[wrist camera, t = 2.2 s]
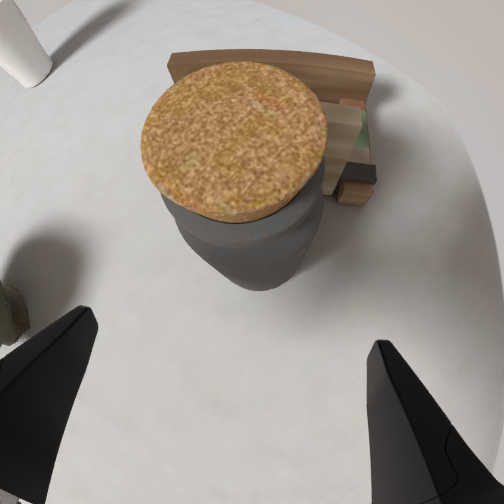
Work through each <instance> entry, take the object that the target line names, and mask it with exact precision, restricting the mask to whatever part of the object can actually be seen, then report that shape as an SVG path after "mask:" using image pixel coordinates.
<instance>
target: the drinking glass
mask: <svg viewBox="0 0 504 504" xmlns="http://www.w3.org/2000/svg"><path fill="white" fill-rule="evenodd" d="M0 66H1V67H2V68H3V69H5V70H6V71H7V72H8V73H10V74H11V75H12V76H13V77H14V78H16V79H17V80H18V81H19V82H20V83H21V84H22V85H23V86H24V87H25V88H32V87H35V86H36V85H38V84H39V83H40V82H42V81H43V80H44V79H45V78H46V76H47V75H48V74H49V72H50V71H51V69H52V66H53V62H52V60H51V58H50V57H49V56H48V55H47V53H46V52H45V50H44V49H43V47H42V45H41V44H40V42H39V41H38V39H37V37H36V36H35V34H34V32H33V31H32V29H31V27H30V25H29V24H28V22H27V20H26V19H25V17H24V15H23V13H22V12H21V10H20V9H19V8H18V6H17V5H16V3H15V2H14V1H13V0H0Z"/></svg>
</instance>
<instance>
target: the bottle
mask: <svg viewBox="0 0 504 504" xmlns="http://www.w3.org/2000/svg"><path fill="white" fill-rule="evenodd" d="M327 142H328V125H327V119H326V115H325V112H324V110H323V107H322V105H321V103H320V101H319V100H318V98H317V97H316V95H315V94H314V93H313V91H312V90H311V89H310V88H309V87H308V86H307V85H306V84H305V83H303V82H302V81H301V80H299V79H298V78H297V77H295V76H294V75H292V74H290V73H288V72H286V71H284V70H282V69H280V68H277V67H274V66H271V65H267V64H263V63H256V62H246V61H241V62H226V63H221V64H216V65H212V66H209V67H205V68H203V69H200V70H198V71H195V72H193V73H191V74H189V75H187V76H186V77H184V78H182V79H181V80H179V81H178V82H176V83H175V84H174V85H172V86H171V87H170V88H169V89H168V90H166V92H165V93H164V94H163V95H162V96H161V97H160V98H159V99H158V100H157V102H156V103H155V104H154V106H153V107H152V109H151V111H150V113H149V115H148V117H147V119H146V121H145V124H144V127H143V130H142V136H141V156H142V162H143V165H144V168H145V170H146V173H147V175H148V177H149V178H150V180H151V182H152V183H153V184H154V186H155V187H156V188H157V189H158V190H159V191H160V192H161V196H162V199H163V201H164V203H165V205H166V206H167V208H168V210H169V211H170V213H171V214H172V215H173V217H174V218H175V221H176V223H177V226H178V229H179V231H180V233H181V234H182V236H183V238H184V240H185V241H186V242H187V244H188V245H189V246H190V247H191V248H192V249H193V250H194V251H195V252H196V253H197V254H198V255H199V256H200V257H201V258H202V259H204V260H205V261H206V262H207V263H208V264H210V265H211V266H212V267H214V268H215V269H216V270H217V271H219V272H220V273H221V274H222V275H224V276H225V277H226V278H228V279H229V280H230V281H232V282H233V283H235V284H236V285H238V286H240V287H242V288H245V289H248V290H253V291H264V290H270V289H273V288H276V287H278V286H280V285H281V284H283V283H284V282H286V281H287V280H288V279H289V278H290V277H291V276H292V274H293V273H294V272H295V270H296V269H297V267H298V265H299V263H300V261H301V259H302V257H303V255H304V253H305V252H306V250H307V248H308V246H309V244H310V242H311V240H312V237H313V235H314V233H315V231H316V229H317V226H318V224H319V221H320V217H321V214H322V208H323V198H324V196H323V188H322V185H323V181H324V175H325V158H324V153H325V150H326V146H327Z"/></svg>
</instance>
